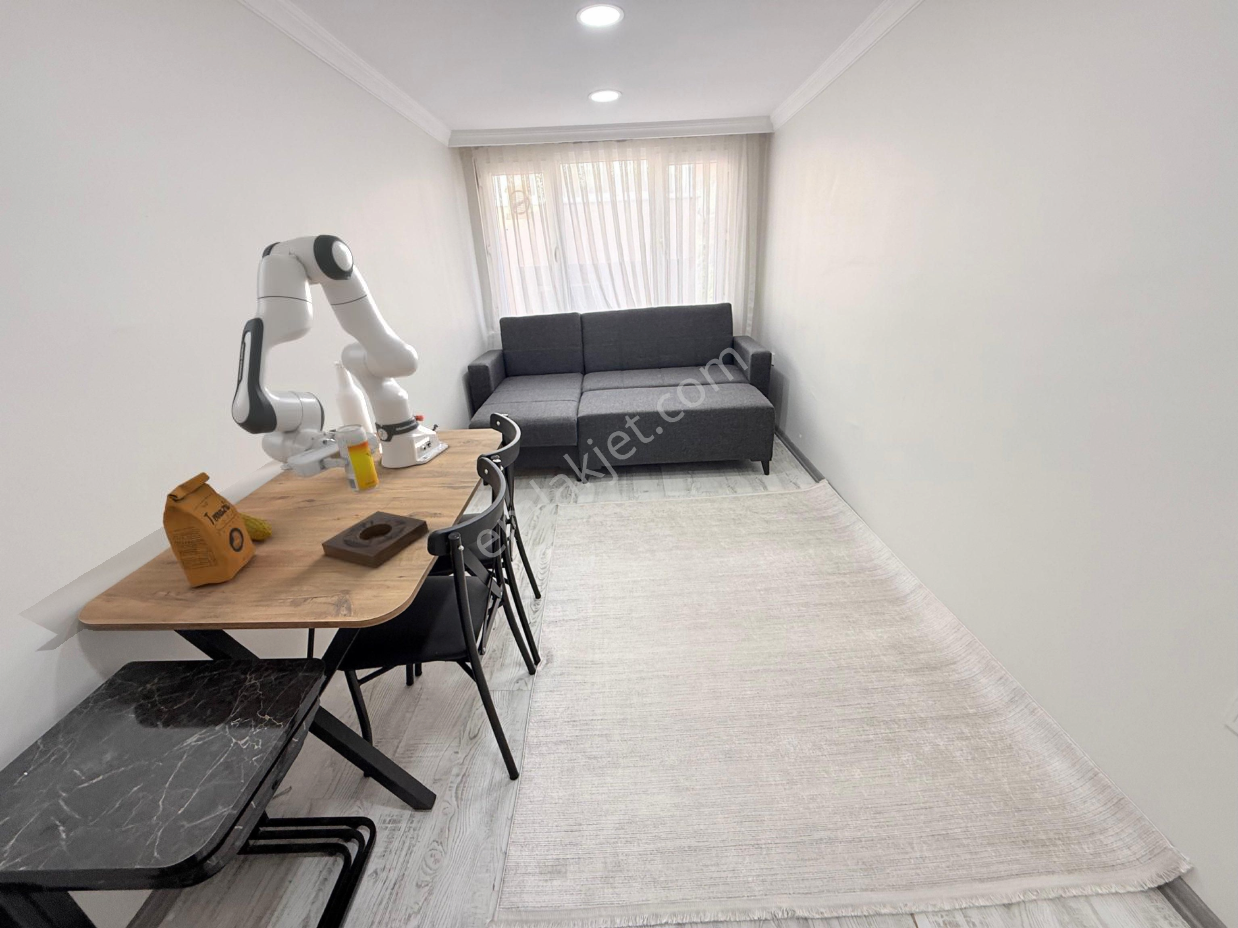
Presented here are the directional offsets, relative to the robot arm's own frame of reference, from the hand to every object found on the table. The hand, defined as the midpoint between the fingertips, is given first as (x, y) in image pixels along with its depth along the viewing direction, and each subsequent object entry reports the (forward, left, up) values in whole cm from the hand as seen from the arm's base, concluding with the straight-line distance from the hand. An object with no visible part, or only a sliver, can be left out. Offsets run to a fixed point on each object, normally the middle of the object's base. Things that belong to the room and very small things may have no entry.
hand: (359, 457), depth 113 cm
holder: (+4, +3, -20) cm, 21 cm away
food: (+12, -34, -20) cm, 41 cm away
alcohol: (-47, -61, -20) cm, 80 cm away
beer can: (0, -1, -8) cm, 8 cm away
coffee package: (+24, -21, -20) cm, 38 cm away
